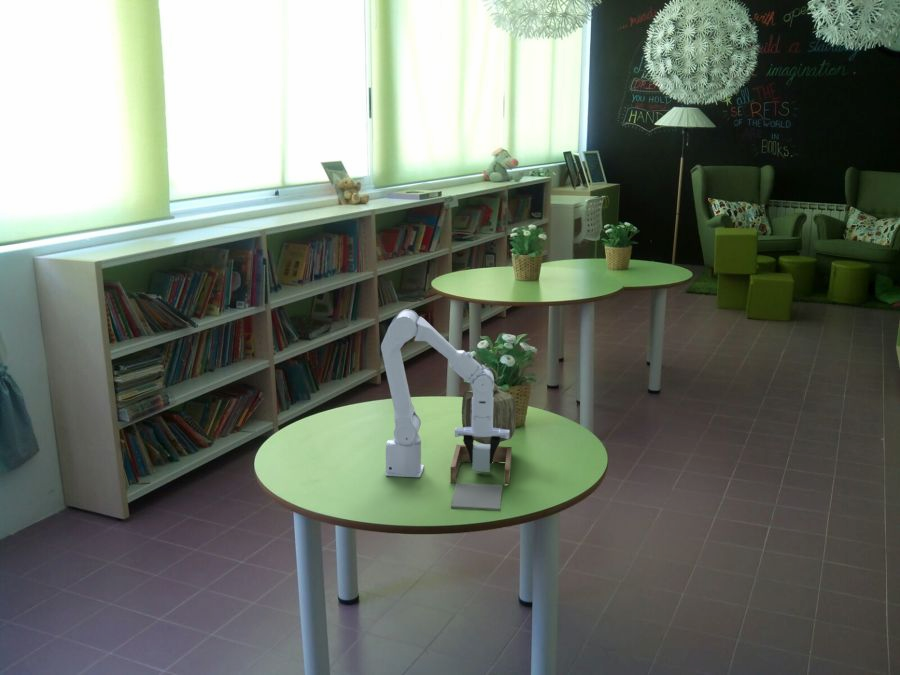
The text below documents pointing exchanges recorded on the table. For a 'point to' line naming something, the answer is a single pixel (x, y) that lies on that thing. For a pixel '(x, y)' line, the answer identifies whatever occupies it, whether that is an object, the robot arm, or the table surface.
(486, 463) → the block
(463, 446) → the brown u-shaped frame
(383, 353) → the robot arm
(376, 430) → the table surface
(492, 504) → the pad
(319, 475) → the table surface
